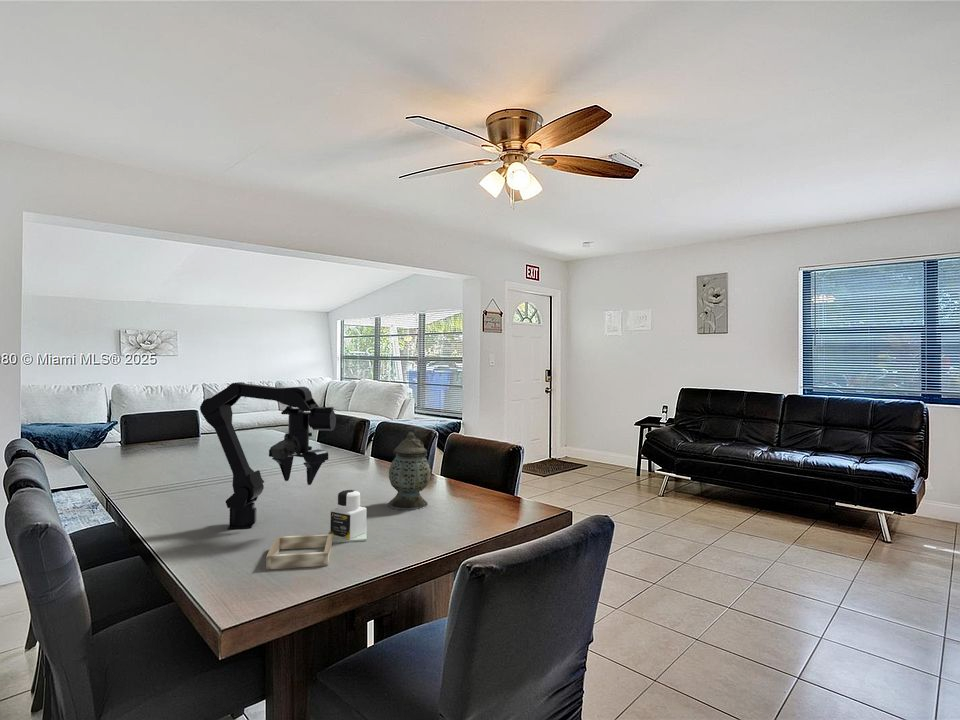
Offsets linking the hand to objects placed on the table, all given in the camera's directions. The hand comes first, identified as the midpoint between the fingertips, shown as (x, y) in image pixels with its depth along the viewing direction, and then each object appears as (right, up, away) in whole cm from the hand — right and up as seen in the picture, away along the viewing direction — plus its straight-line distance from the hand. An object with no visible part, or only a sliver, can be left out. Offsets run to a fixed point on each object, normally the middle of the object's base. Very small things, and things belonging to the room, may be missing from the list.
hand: (297, 482), depth 156 cm
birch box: (+9, -13, -23) cm, 28 cm away
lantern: (+29, -14, +26) cm, 41 cm away
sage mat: (+16, -13, -7) cm, 22 cm away
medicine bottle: (+16, -13, -7) cm, 22 cm away
